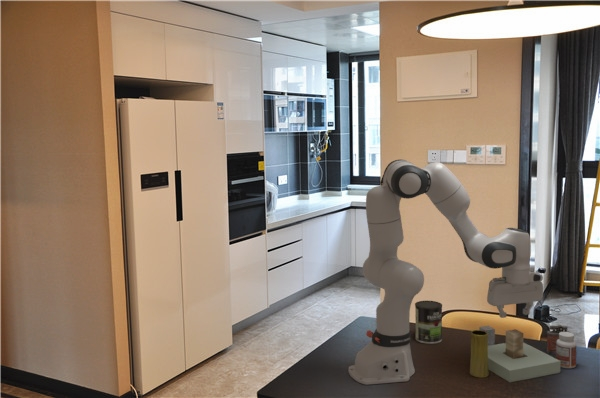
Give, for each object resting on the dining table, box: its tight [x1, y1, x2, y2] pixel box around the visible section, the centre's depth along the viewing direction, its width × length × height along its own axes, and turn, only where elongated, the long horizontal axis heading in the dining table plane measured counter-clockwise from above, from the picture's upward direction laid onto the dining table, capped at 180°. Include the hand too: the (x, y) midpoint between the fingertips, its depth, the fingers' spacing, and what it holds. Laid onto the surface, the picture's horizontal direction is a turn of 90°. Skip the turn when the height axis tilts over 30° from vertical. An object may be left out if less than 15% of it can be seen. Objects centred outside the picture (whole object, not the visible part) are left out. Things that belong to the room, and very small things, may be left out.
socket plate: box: [488, 341, 561, 383], centre depth 193 cm, size 20×20×4 cm
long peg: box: [505, 329, 524, 359], centre depth 192 cm, size 4×4×12 cm
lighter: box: [546, 324, 572, 355], centre depth 203 cm, size 8×3×10 cm, turn 84°
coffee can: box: [414, 300, 443, 345], centre depth 219 cm, size 10×10×14 cm
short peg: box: [478, 325, 496, 346], centre depth 214 cm, size 4×4×6 cm
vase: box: [469, 329, 490, 379], centre depth 187 cm, size 6×6×14 cm
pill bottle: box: [555, 331, 577, 369], centre depth 191 cm, size 6×6×11 cm
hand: (514, 315), depth 191 cm, fingers open, 8 cm apart
